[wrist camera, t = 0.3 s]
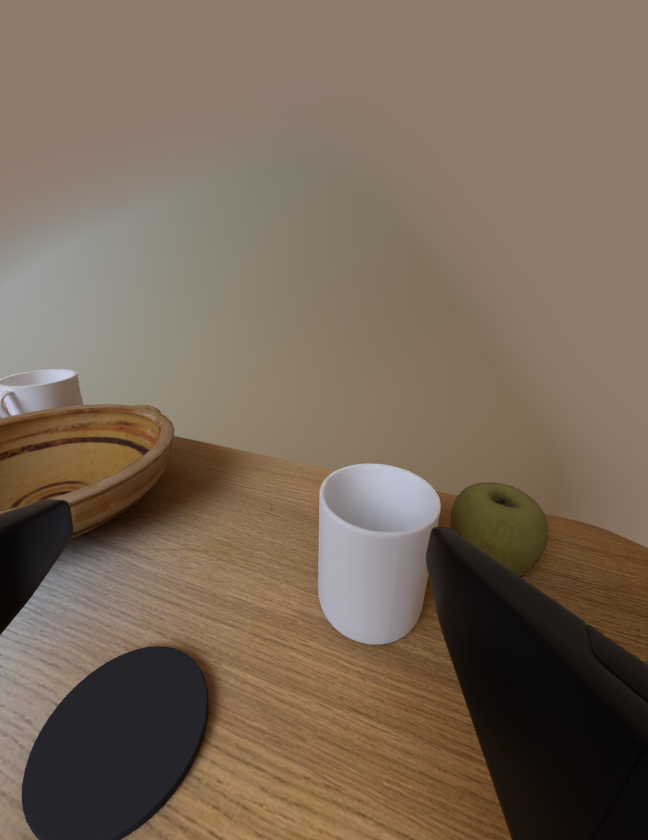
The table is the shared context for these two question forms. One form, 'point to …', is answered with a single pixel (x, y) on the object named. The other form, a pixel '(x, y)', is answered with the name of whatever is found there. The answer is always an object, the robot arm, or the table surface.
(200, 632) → the table surface
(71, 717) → the coaster
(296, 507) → the table surface
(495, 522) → the apple
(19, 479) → the ceramic bowl
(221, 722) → the table surface
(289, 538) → the table surface
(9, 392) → the mug
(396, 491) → the mug
